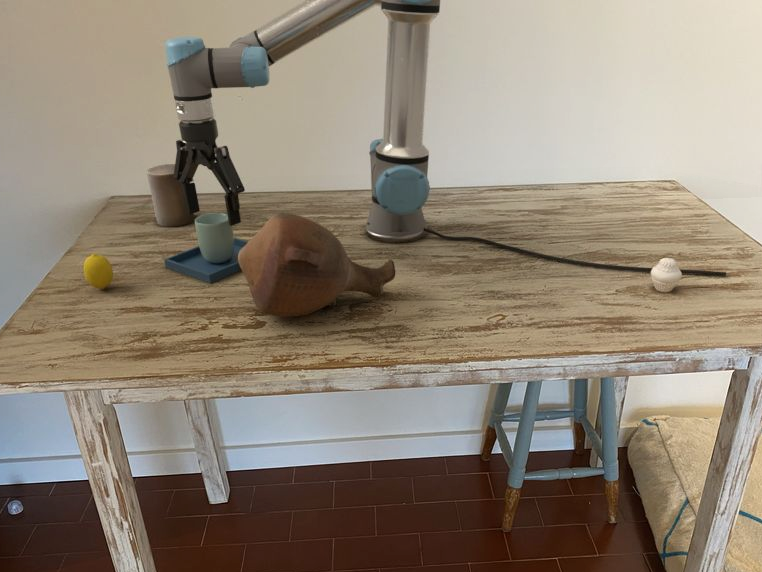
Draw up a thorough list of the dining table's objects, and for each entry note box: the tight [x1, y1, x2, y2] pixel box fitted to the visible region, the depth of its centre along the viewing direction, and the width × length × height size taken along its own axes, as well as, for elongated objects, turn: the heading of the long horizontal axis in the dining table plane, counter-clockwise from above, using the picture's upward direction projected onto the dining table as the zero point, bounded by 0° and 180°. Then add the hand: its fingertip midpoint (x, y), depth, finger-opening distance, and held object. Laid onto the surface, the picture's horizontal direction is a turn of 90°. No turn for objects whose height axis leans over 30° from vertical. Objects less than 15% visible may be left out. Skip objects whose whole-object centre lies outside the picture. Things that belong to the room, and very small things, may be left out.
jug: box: [238, 212, 396, 318], centre depth 137 cm, size 20×20×30 cm
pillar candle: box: [146, 163, 196, 228], centre depth 182 cm, size 10×10×15 cm
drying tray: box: [163, 237, 249, 284], centre depth 162 cm, size 15×18×2 cm
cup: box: [194, 212, 235, 264], centre depth 159 cm, size 8×8×10 cm
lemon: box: [83, 253, 114, 290], centre depth 148 cm, size 6×6×8 cm
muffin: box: [650, 257, 683, 293], centre depth 146 cm, size 6×6×7 cm
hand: (214, 218), depth 157 cm, fingers open, 13 cm apart
